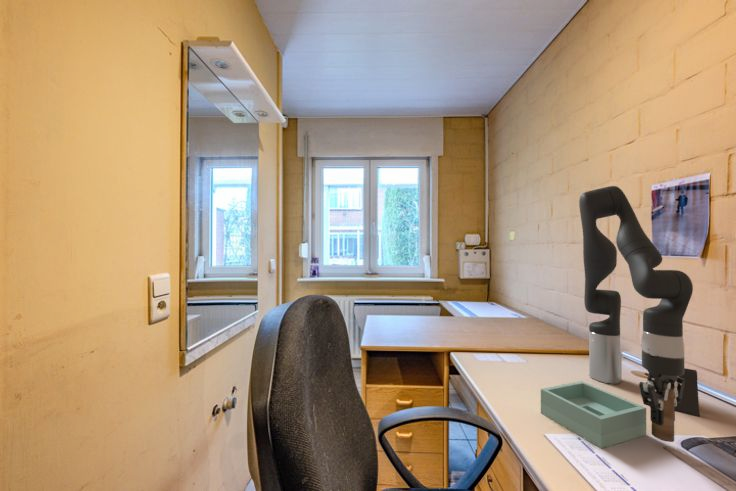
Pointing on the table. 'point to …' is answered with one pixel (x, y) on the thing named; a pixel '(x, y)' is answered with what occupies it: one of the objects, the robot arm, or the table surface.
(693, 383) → the phone stand
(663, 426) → the walnut peg
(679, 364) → the robot arm
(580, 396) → the bore box
